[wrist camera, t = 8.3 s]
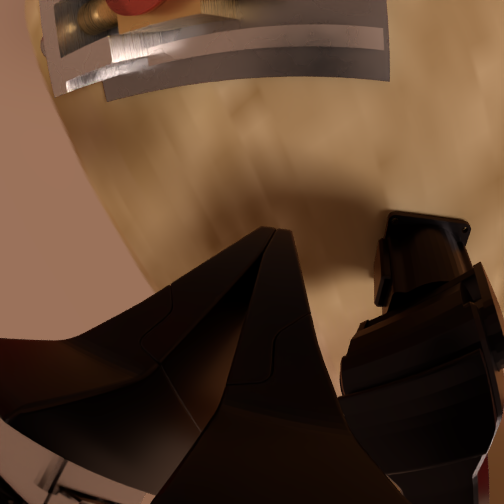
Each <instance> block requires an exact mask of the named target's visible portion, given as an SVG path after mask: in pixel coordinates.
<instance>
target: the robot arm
mask: <svg viewBox="0 0 504 504" xmlns="http://www.w3.org/2000/svg"><path fill="white" fill-rule="evenodd" d="M393 218H397V219H398V220H397V221H392V219H393ZM464 227H466V229H465V230H462V229H463V228H464ZM470 231H471V227H470V225H469V223H468V222H466V221H461V220H454V219H447V218H440V217H433V216H425V215H418V214H410V213H401V212H392V213H390V214H389V216H388V219H387V225H386V231H385V236H384V238H381V239H380V240H379V241H378V247H377V252H376V257H375V262H374V303H375V305H376V306H377V307H382V315H381V316H379V317H377V318H374V319H372V320H370V321H369V320H366V321H364V322H362V323H360V326H359V328H358V330H357V332H356V334H355V335H354V336H353V338H352V339H351V341H350V345H349V348H348V352H347V354H346V356H343V357H342V360H341V364H340V387H341V392H342V396H339V397H338V398H337V395H336V392H335V390H334V387H333V384H332V382H331V379H330V376H329V374H328V371H327V368H326V366H325V363H324V360H323V357H322V354H321V351H320V348H319V345H318V341H317V337H316V333H315V329H314V325H313V320H312V316H311V312H310V307H309V303H308V298H307V293H306V289H305V285H304V280H303V276H302V271H301V267H300V263H299V259H298V254H297V250H296V246H295V242H294V238H293V234H292V231H291V230H286V229H277V230H276V229H275V228H272V227H265V226H261V227H259V228H258V229H256V230H255V231H253V232H251V233H250V234H248V235H247V236H245V237H243V238H242V239H240V240H239V241H237V242H235V243H234V244H232V245H231V246H229V247H228V248H226V249H224V250H223V251H221V252H220V253H218V254H216V255H215V256H213V257H212V258H210V259H209V260H207V261H205V262H204V263H202V264H201V265H199V266H198V267H196V268H194V269H193V270H191V271H190V272H188V273H187V274H185V275H184V276H182V277H180V278H179V279H177V280H176V281H174V282H173V283H171V286H170V285H168V286H166V287H165V288H163V289H162V290H160V291H159V292H157V293H155V294H154V295H152V296H151V297H149V298H147V299H146V300H144V301H143V302H141V303H139V304H137V305H135V306H133V307H132V308H130V309H128V310H126V311H124V312H123V313H121V314H119V315H117V316H115V317H113V318H111V319H110V320H107V321H106V322H104V323H102V324H100V325H98V326H96V327H94V328H92V329H91V330H89V331H87V332H85V333H83V334H81V335H79V336H76V337H73V338H70V339H66V340H56V341H53V340H49V341H48V340H25V339H7V338H0V504H141V502H142V500H143V498H144V496H145V494H146V493H150V494H152V495H156V496H155V498H154V499H153V500H152V502H151V503H150V504H489V469H488V454H487V452H488V450H489V448H490V446H491V443H492V441H493V439H494V436H495V434H496V431H497V429H498V426H499V424H500V421H501V418H502V414H503V408H504V373H503V368H504V318H503V315H502V312H501V309H500V306H499V303H498V301H497V298H496V296H495V293H494V291H493V288H492V286H491V284H490V281H489V279H488V277H487V274H486V272H485V270H484V268H483V266H482V264H481V262H479V263H477V264H475V265H474V266H472V263H471V261H470V258H469V255H468V253H467V250H466V248H465V246H466V243H467V240H468V237H469V234H470ZM390 480H391V481H392V482H393V483H394V484H396V485H397V486H398V487H399V488H400V491H401V493H400V491H399V490H398V489H397V488H396V487H395V485H394V484H393V483H392V482H391V481H390Z"/></svg>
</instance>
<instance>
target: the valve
mask: <svg viewBox="0 0 504 504" xmlns="http://www.w3.org/2000/svg"><path fill="white" fill-rule="evenodd" d="M231 19H236V11H235V0H91V1H89V2H87V3H85V4H83V5H82V6H81V7H80V9H79V11H78V15H77V21H78V25H79V27H80V29H81V30H82V31H83V32H84V33H85V34H87V35H91V36H93V35H97V34H99V33H102V32H104V31H107V30H109V29H112V28H115V27H117V26H118V29H119V35H123V34H132V33H143V32H159V31H169V30H173V29H178V28H182V27H187V26H193V25H198V24H204V23H210V22H216V21H223V20H231Z"/></svg>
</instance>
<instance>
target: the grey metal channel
mask: <svg viewBox="0 0 504 504" xmlns="http://www.w3.org/2000/svg"><path fill="white" fill-rule="evenodd" d="M89 1H91V0H39V4H40V15H41V24H42V32H43V37H42V40H41V50H42V53H43V54H44V56H45V57H46V58H47V64H48V69H49V74H50V79H51V84H52V88H53V93H54V97H55V98H56V97H58V96H61V95H63V94H66V93H68V92H71V91H73V90H76V89H79V88H81V87H84V86H87V85H90V84H93V83H96V82H99V81H103V86H104V91H105V95H106V100H107V102H109V101H113V100H116V99H120V98H124V97H129V96H133V95H137V94H142V93H146V92H151V91H156V90H161V89H167V88H172V87H178V86H184V85H191V84H198V83H205V82H213V81H222V80H233V79H244V78H260V77H285V76H318V77H344V78H358V79H370V80H380V81H388V82H390V55H389V30H388V15H387V4H386V0H235V11H236V19H231V20H223V21H216V22H210V23H204V24H198V25H193V26H187V27H182V28H178V29H173V30H169V31H159V32H143V33H132V34H123V35H119V29H118V26H117V27H115V28H112V29H109V30H107V31H104V32H102V33H99V34H97V35H93V36H91V35H87V34H85V33H84V32H83V31H82V30H81V29H80V27H79V25H78V21H77V15H78V11H79V9H80V7H81V6H82V5H83V4H85V3H87V2H89Z"/></svg>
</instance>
